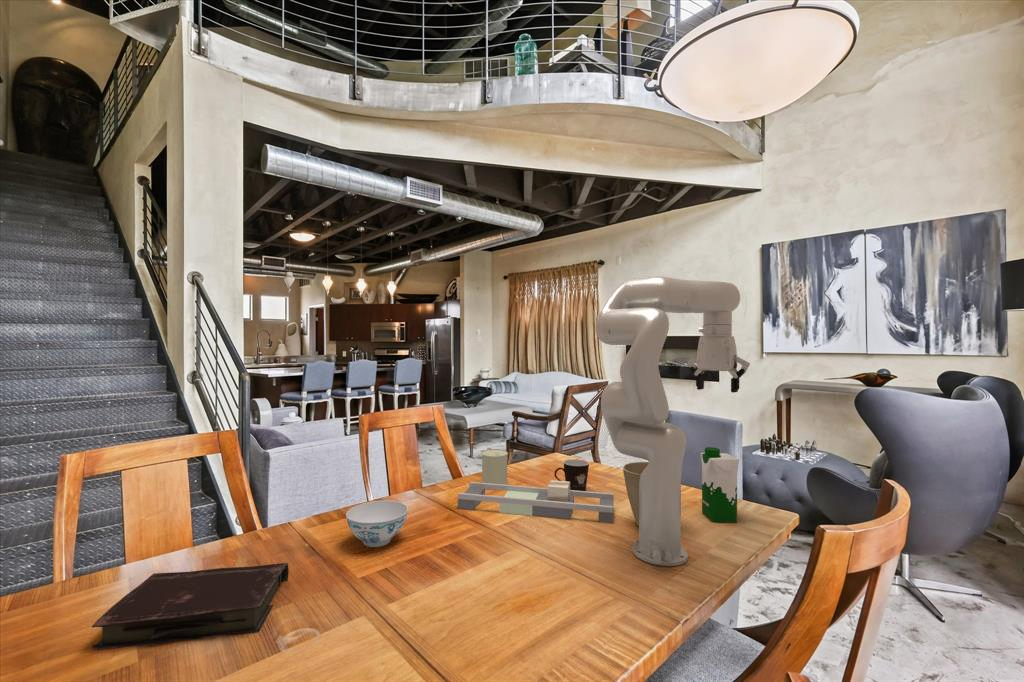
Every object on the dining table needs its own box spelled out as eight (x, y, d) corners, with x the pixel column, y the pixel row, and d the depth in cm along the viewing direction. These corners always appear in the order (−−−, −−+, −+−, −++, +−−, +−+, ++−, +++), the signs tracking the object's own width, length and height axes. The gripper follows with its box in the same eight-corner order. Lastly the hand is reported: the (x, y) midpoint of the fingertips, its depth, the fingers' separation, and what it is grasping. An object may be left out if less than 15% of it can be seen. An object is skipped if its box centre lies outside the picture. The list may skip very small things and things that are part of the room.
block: (567, 504, 132) (567, 487, 132) (547, 503, 133) (547, 486, 133) (569, 498, 138) (570, 481, 138) (550, 496, 139) (550, 480, 139)
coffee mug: (588, 488, 156) (588, 459, 156) (589, 496, 148) (590, 466, 148) (554, 487, 158) (554, 458, 158) (554, 495, 149) (554, 465, 149)
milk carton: (697, 511, 135) (698, 445, 135) (728, 512, 135) (728, 445, 135) (709, 523, 127) (710, 452, 127) (742, 524, 126) (742, 452, 126)
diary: (154, 595, 91) (155, 569, 91) (288, 583, 96) (288, 559, 96) (87, 657, 72) (88, 625, 73) (256, 638, 77) (257, 608, 77)
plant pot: (671, 516, 131) (671, 462, 131) (685, 538, 117) (685, 477, 117) (619, 514, 133) (619, 460, 133) (626, 535, 118) (627, 475, 118)
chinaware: (332, 546, 111) (332, 515, 111) (376, 524, 124) (377, 496, 124) (377, 560, 104) (378, 527, 104) (419, 536, 117) (420, 506, 117)
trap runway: (613, 523, 126) (613, 507, 126) (457, 508, 137) (457, 493, 137) (613, 508, 138) (613, 493, 138) (470, 495, 148) (470, 481, 148)
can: (488, 491, 153) (488, 456, 153) (477, 483, 161) (477, 450, 161) (512, 487, 157) (512, 453, 157) (500, 480, 165) (500, 447, 165)
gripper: (682, 331, 134) (682, 389, 134) (744, 330, 121) (743, 394, 121) (693, 332, 139) (693, 387, 139) (754, 331, 126) (753, 392, 126)
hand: (716, 390), depth 130 cm, fingers open, 9 cm apart
